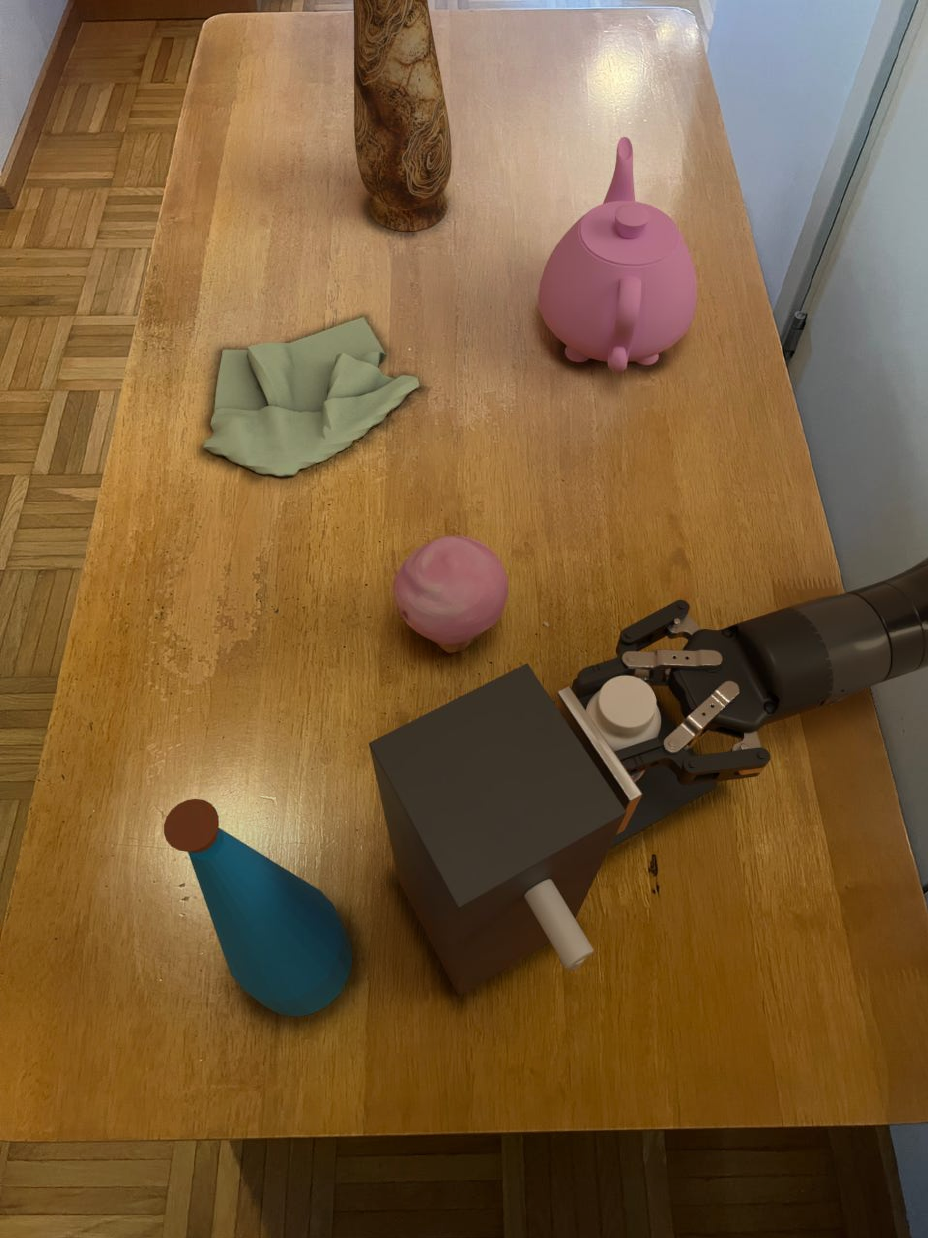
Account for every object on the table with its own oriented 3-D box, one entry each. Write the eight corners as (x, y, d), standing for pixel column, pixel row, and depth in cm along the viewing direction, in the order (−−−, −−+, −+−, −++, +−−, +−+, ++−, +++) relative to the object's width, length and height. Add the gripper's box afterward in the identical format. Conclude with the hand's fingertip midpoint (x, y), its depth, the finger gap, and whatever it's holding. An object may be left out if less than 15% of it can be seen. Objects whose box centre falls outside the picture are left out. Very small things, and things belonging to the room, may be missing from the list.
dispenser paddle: (624, 830, 52) (643, 794, 47) (613, 837, 52) (630, 801, 47) (558, 729, 55) (568, 684, 50) (547, 735, 55) (556, 691, 50)
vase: (451, 236, 103) (448, -73, 77) (355, 236, 103) (320, -73, 77) (452, 178, 108) (449, -131, 82) (361, 177, 108) (329, -131, 82)
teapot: (537, 249, 102) (547, 130, 90) (679, 255, 102) (708, 135, 90) (533, 398, 91) (545, 284, 79) (693, 405, 91) (728, 292, 79)
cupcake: (456, 567, 81) (456, 497, 72) (526, 631, 78) (534, 566, 69) (378, 627, 78) (367, 561, 69) (447, 696, 75) (445, 636, 66)
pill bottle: (650, 789, 70) (673, 737, 62) (579, 790, 70) (591, 738, 62) (643, 723, 73) (664, 665, 65) (574, 724, 73) (586, 666, 65)
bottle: (328, 888, 67) (238, 716, 41) (370, 983, 64) (301, 863, 38) (232, 937, 66) (73, 790, 39) (270, 1037, 62) (125, 951, 36)
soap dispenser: (601, 984, 64) (679, 890, 42) (488, 1054, 62) (505, 995, 39) (505, 822, 70) (527, 662, 47) (398, 881, 67) (368, 742, 45)
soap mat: (716, 787, 71) (718, 785, 71) (584, 863, 68) (585, 861, 68) (627, 665, 76) (629, 662, 76) (501, 731, 73) (502, 728, 73)
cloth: (183, 470, 86) (176, 453, 84) (238, 307, 97) (233, 288, 95) (400, 490, 85) (398, 473, 83) (431, 323, 96) (430, 305, 94)
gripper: (772, 549, 68) (556, 615, 65) (878, 721, 61) (642, 802, 58) (745, 602, 74) (547, 664, 71) (838, 763, 67) (624, 838, 65)
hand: (591, 725), depth 65 cm, fingers closed on pill bottle, 5 cm apart
